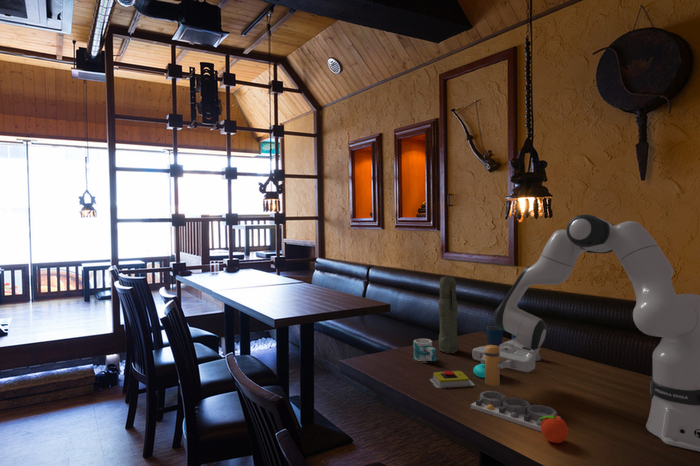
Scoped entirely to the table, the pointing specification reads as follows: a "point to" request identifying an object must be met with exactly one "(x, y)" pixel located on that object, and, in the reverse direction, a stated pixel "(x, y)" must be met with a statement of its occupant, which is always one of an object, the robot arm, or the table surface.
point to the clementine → (554, 429)
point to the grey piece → (512, 409)
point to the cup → (494, 335)
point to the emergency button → (450, 379)
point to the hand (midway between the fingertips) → (490, 363)
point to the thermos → (448, 315)
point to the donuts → (480, 370)
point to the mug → (424, 350)
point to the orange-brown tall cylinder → (492, 365)
